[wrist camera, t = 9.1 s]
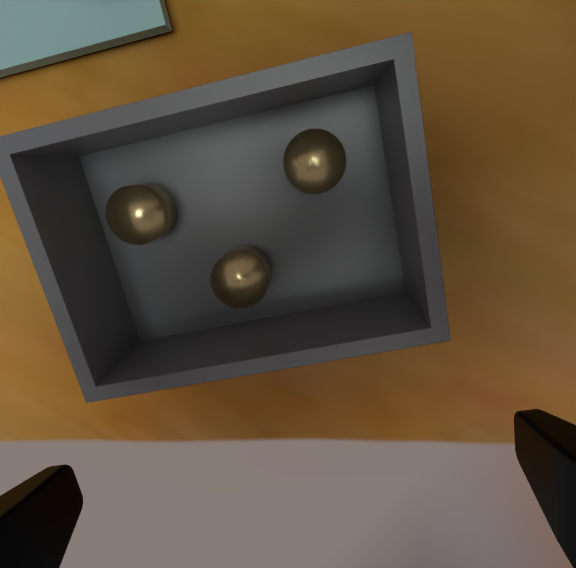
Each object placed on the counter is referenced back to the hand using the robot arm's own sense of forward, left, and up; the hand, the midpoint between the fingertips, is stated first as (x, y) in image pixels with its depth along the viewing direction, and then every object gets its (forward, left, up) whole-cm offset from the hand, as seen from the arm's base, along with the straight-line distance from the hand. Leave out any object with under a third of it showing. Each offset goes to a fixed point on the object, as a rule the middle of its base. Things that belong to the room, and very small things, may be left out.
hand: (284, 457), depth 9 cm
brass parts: (+2, -3, -12) cm, 12 cm away
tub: (+2, -3, -12) cm, 13 cm away
